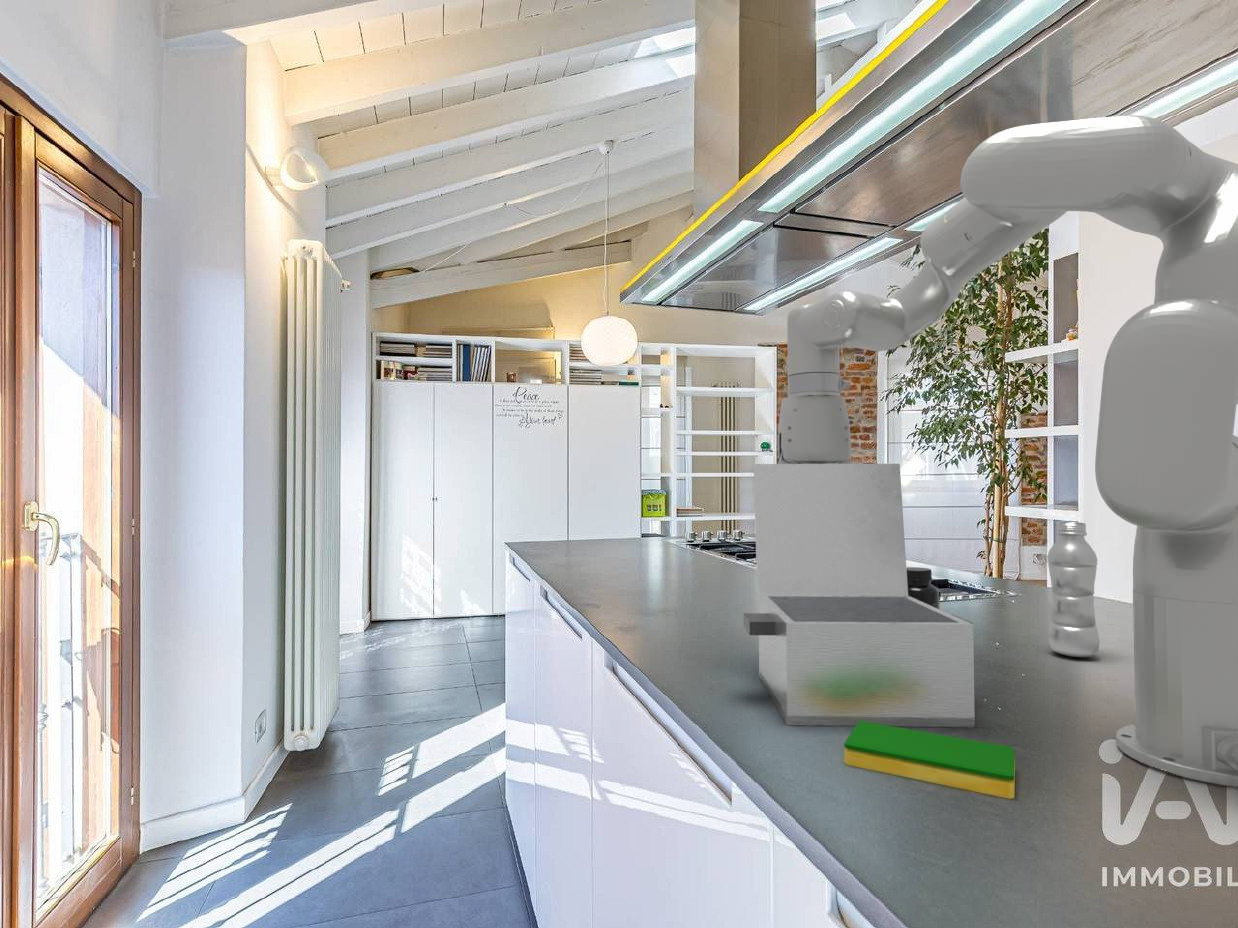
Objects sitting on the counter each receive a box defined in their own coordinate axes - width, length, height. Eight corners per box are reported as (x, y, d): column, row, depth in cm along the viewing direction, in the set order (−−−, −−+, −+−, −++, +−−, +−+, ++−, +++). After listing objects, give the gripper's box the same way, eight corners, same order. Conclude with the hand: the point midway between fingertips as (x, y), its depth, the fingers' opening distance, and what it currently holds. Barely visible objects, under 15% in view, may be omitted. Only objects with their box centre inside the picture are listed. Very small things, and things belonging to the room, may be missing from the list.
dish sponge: (859, 742, 70) (859, 719, 70) (1015, 772, 62) (1014, 746, 62) (843, 768, 63) (843, 742, 63) (1014, 804, 56) (1013, 775, 56)
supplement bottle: (921, 636, 114) (920, 565, 115) (950, 645, 108) (949, 570, 108) (885, 638, 113) (884, 566, 113) (912, 648, 106) (911, 572, 106)
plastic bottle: (1050, 658, 100) (1048, 523, 100) (1046, 648, 106) (1044, 521, 106) (1103, 664, 97) (1101, 524, 97) (1096, 653, 103) (1093, 522, 103)
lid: (899, 463, 94) (891, 466, 97) (754, 464, 94) (751, 467, 97) (908, 595, 91) (899, 594, 94) (758, 594, 92) (755, 594, 94)
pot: (1003, 727, 72) (1001, 624, 73) (759, 724, 73) (758, 623, 74) (931, 677, 90) (930, 595, 91) (736, 676, 91) (736, 594, 92)
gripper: (856, 391, 105) (857, 509, 104) (759, 392, 105) (760, 509, 105) (872, 384, 97) (874, 512, 97) (767, 385, 98) (769, 512, 97)
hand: (814, 510), depth 101 cm, fingers closed
